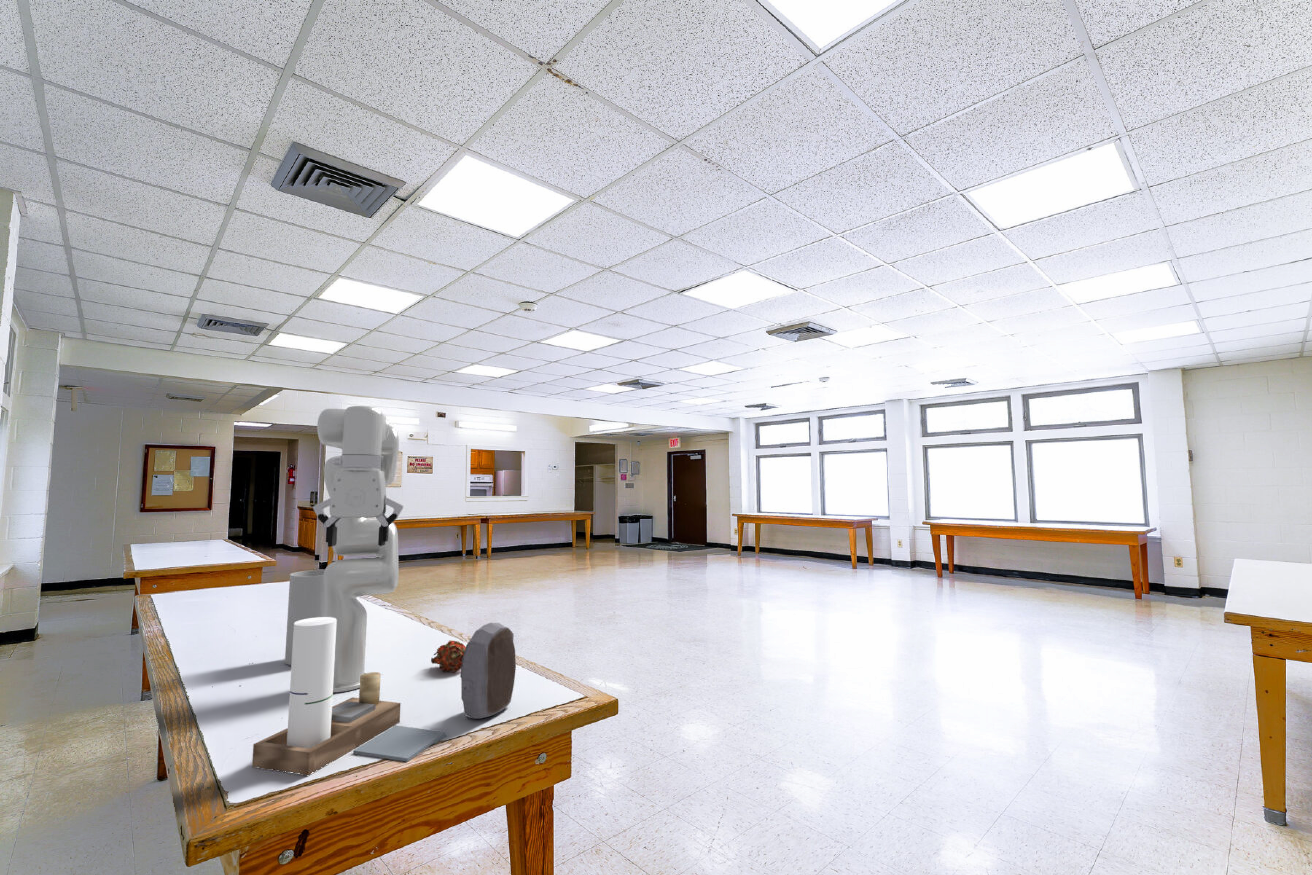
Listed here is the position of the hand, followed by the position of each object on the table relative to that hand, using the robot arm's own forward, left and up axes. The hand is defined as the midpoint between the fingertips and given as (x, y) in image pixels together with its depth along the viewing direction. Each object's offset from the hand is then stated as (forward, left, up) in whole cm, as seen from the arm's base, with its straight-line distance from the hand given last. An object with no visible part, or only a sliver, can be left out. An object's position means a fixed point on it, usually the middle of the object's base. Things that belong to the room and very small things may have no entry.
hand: (357, 545), depth 122 cm
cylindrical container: (-1, -9, -39) cm, 40 cm away
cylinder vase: (-48, +39, -39) cm, 73 cm away
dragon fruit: (-5, +43, -39) cm, 58 cm away
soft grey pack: (+20, +19, -39) cm, 48 cm away
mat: (+13, 0, -39) cm, 41 cm away
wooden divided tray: (-1, -3, -39) cm, 39 cm away
